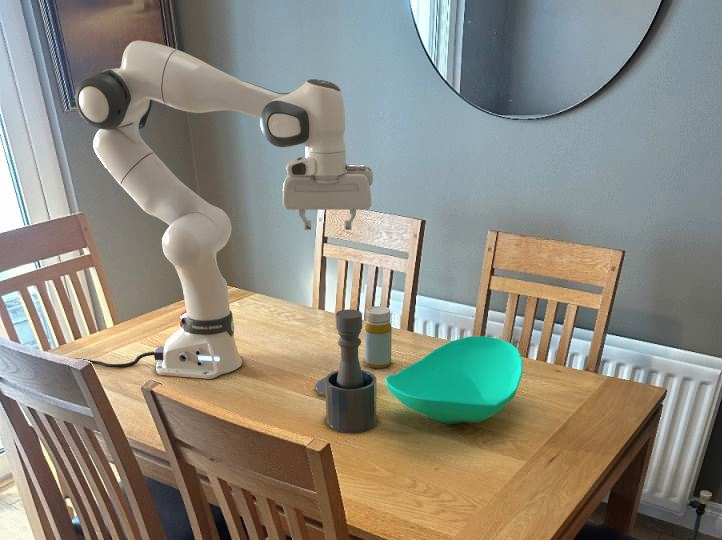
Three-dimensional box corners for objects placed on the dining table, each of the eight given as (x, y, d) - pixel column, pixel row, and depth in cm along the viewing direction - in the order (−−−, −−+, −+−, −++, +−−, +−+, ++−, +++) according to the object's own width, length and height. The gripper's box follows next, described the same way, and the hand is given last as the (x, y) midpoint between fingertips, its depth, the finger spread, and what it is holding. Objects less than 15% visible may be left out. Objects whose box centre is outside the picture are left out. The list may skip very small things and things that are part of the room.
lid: (314, 400, 180) (313, 382, 177) (317, 379, 190) (316, 362, 187) (366, 400, 180) (365, 382, 177) (365, 379, 190) (365, 361, 188)
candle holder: (367, 414, 173) (367, 310, 158) (358, 425, 168) (357, 320, 154) (343, 410, 174) (340, 307, 160) (333, 421, 170) (330, 316, 155)
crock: (325, 433, 166) (324, 390, 160) (327, 409, 176) (326, 368, 170) (376, 432, 167) (376, 390, 160) (375, 409, 176) (375, 368, 170)
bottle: (392, 359, 201) (392, 306, 192) (389, 369, 195) (390, 315, 187) (367, 358, 202) (366, 305, 193) (363, 368, 196) (363, 314, 187)
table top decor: (447, 374, 193) (450, 325, 186) (542, 402, 180) (550, 351, 172) (355, 431, 167) (354, 377, 159) (458, 469, 154) (463, 413, 146)
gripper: (372, 162, 165) (372, 225, 173) (281, 161, 165) (286, 225, 173) (373, 167, 160) (373, 232, 168) (279, 167, 160) (283, 232, 167)
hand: (328, 229), depth 170 cm, fingers open, 8 cm apart
